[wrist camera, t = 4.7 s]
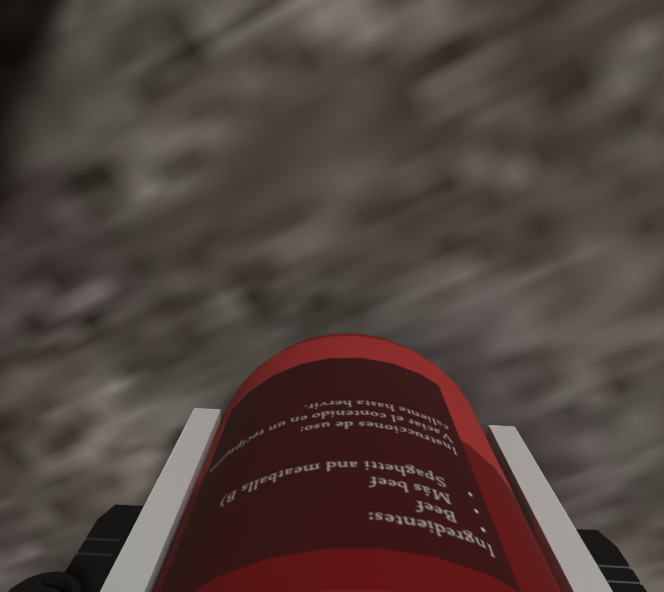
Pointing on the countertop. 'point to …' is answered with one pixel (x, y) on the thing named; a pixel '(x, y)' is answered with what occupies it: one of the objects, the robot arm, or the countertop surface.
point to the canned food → (352, 484)
